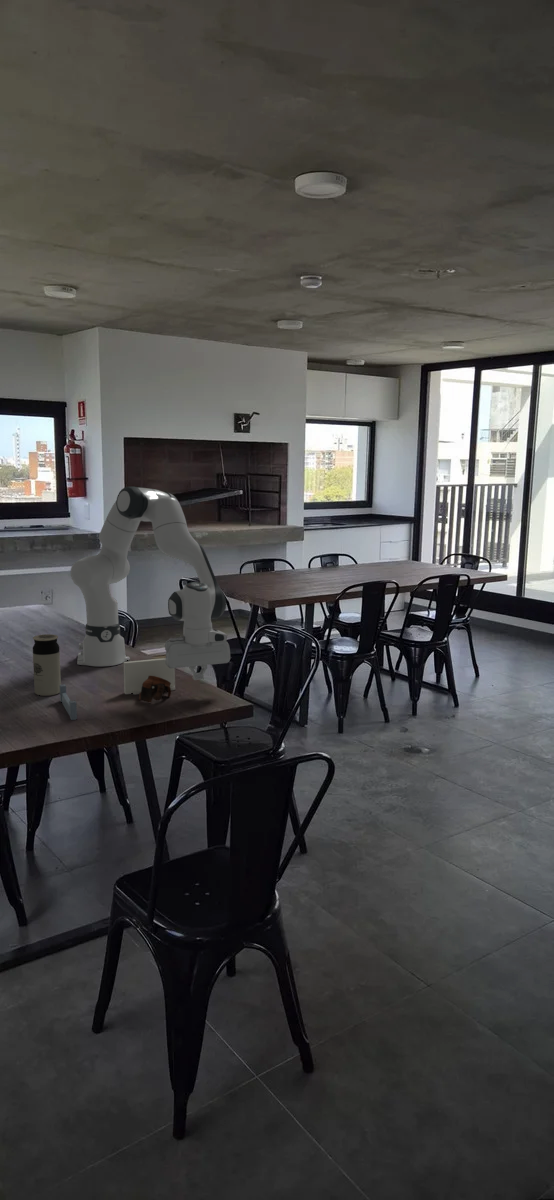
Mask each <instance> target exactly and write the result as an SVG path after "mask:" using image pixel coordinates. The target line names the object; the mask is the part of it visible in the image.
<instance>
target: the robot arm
mask: <svg viewBox="0 0 554 1200" xmlns="http://www.w3.org/2000/svg"><path fill="white" fill-rule="evenodd" d="M141 522H151V525H152V532H153V536H154V540H155V544H156V546H157V549H158V550H159V551H160V552H162V554H165V555H166V556H167V557H170V558H172V559H176V560H180V561H183V562H186V563H187V564H189V565H191V567H193V569H194V570H195V573H196V575H197V577H198V580H199V581H193V582H191V581H190V582H188V583H187V584H185V585H184V587H183V588H181V589H180V590H177V591H173V593H172V594H171V595H170V596H169V597H168V600H167V601H168V602H167V605H168V606H167V608H168V609H167V610H168V614H169V615H170V616H171V617H172V618H173V620H175V621H181V622H183V625H182V626H183V627H182V628H183V632H182V633H183V636H179V637H169V639H167V640H166V641H165V642H164V643H165V644H164V649H165V651H166V652H165V658H166V659H165V663H166V665H167V666H168V667H169V668H175V669H177V668H178V669H179V668H189V670H190V672H191V673H192V680H194V681H197V680H204V674H205V673H206V671H207V669H208V666H209V665H218V664H219V665H221V664H228V663H229V662H230V660H231V649H230V644H229V643H228V641H227V640H228V635H227V634H226V632H223V631H221V630H219V629H215V628H213V623H212V620H218V619H219V618H220V617H221V616H222V615H223V614H224V613H225V611H226V609H227V599H226V597H225V594H224V593H223V590H222V588H221V587H220V586H219V583H218V580H217V578H216V576H215V574H214V571H213V569H212V565H211V564H210V561H209V558H208V556H207V554H206V552H205V549H204V548H203V546H202V544H201V543H200V542H198V541H196V540H195V539H194V537H193V536H192V534H191V533H190V531H189V528H188V525H187V520H186V517H185V514H184V511H183V508H182V506H181V504H180V502H179V500H178V498H177V497H176V496H175V495H173V494H172V493H170V492H167V491H162V490H160V489H154V488H146V487H137V486H125V487H123V488H122V489H121V490H120V491H119V492H118V495H117V497H116V500H115V501H114V503H113V505H112V507H111V508H110V510H109V512H108V514H107V516H106V518H105V521H104V522H103V525H102V527H101V529H100V532H99V534H98V540H99V541H100V544H101V548H100V551H99V553H98V554H96V555H90V556H84V557H82V558H80V559H78V560H76V561H75V562H74V563H73V564H72V566H71V567H70V578H71V580H72V582H73V584H75V585H76V587H78V588H79V589H80V591H81V593H82V596H83V599H84V602H85V610H86V611H85V614H86V624H85V636H84V639H83V640H82V642H80V643H78V650H79V651H80V652H78V653H77V662H76V663H77V664H76V665H81V666H87V667H88V666H90V667H110V666H111V667H112V666H116V665H117V666H118V665H120V664H124V662H128V661H131V660H130V659H131V657H130V656H129V655H126V648H125V647H126V645H125V638H124V637H123V636H122V635H121V625H120V623H119V605H118V603H119V602H118V601H117V600H116V599H115V598H114V597H113V596H112V594H111V592H110V591H111V590H110V588H109V585H112V584H117V583H119V582H121V581H122V580H123V579H126V578H127V576H128V575H130V571H131V566H130V561H129V560H128V554H129V549H130V546H131V544H132V541H133V539H134V538H135V535H136V533H137V530H138V528H139V526H140V523H141ZM127 660H128V661H127ZM198 666H199V667H201V669H200V671H199V672H196V669H197V667H198Z"/></svg>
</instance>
